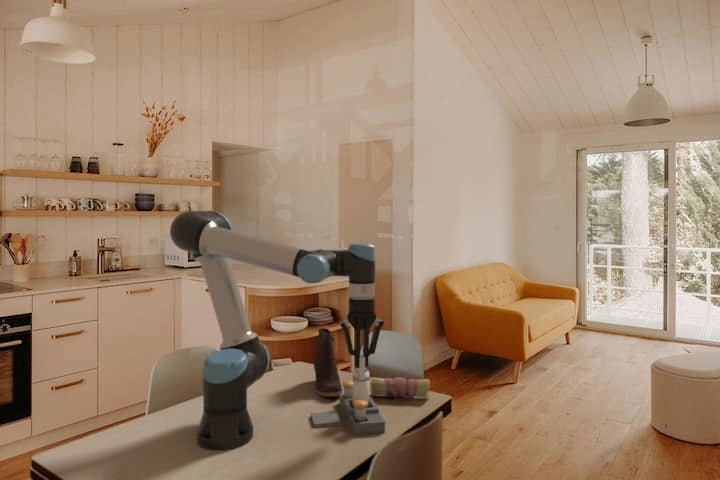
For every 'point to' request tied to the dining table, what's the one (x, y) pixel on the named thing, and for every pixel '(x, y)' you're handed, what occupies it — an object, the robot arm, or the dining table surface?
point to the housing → (370, 425)
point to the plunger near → (360, 409)
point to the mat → (325, 419)
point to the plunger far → (348, 389)
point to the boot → (326, 366)
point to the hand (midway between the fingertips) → (361, 378)
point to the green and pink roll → (400, 387)
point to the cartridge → (361, 387)
